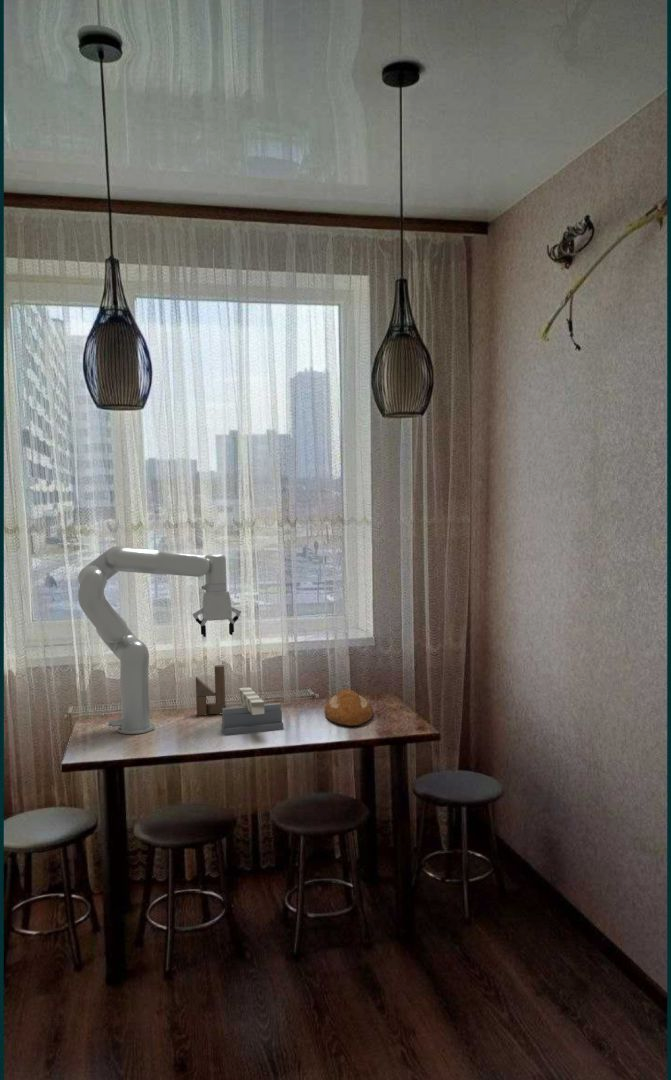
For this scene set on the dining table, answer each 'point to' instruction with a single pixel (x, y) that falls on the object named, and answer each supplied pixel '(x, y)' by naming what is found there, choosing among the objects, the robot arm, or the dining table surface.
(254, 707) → the birch bar
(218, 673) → the wooden block
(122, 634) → the robot arm
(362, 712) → the bread
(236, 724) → the ridge block
